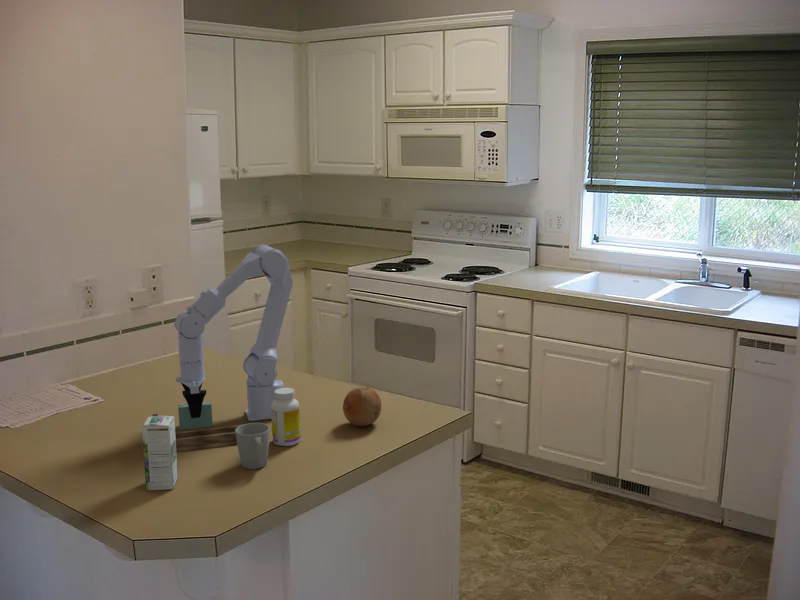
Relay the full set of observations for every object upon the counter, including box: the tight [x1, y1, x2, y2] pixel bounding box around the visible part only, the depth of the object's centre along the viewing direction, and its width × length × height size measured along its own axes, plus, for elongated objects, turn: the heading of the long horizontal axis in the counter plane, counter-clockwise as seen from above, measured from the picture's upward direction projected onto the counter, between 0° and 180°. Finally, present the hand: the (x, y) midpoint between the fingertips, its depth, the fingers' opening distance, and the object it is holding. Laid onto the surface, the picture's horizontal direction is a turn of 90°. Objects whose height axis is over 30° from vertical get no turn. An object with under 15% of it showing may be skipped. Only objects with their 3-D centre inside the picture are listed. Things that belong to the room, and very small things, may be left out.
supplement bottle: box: [271, 387, 302, 447], centre depth 199 cm, size 7×7×13 cm
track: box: [151, 413, 244, 453], centre depth 200 cm, size 21×8×7 cm, turn 107°
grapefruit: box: [342, 385, 382, 428], centre depth 210 cm, size 10×10×10 cm
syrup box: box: [141, 415, 179, 491], centre depth 177 cm, size 6×6×14 cm
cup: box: [235, 422, 271, 470], centre depth 186 cm, size 8×10×8 cm
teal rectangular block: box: [177, 401, 214, 431], centre depth 210 cm, size 8×2×6 cm, turn 107°
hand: (194, 412), depth 210 cm, fingers open, 7 cm apart
